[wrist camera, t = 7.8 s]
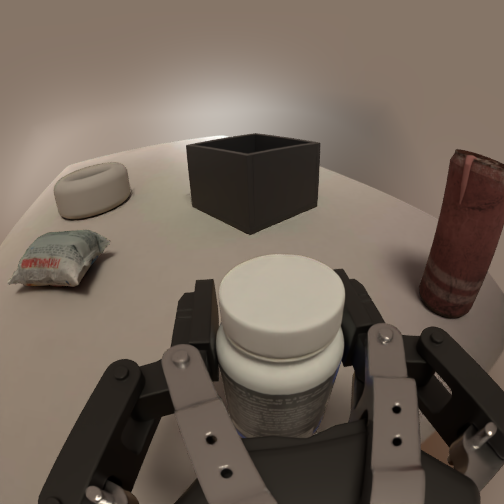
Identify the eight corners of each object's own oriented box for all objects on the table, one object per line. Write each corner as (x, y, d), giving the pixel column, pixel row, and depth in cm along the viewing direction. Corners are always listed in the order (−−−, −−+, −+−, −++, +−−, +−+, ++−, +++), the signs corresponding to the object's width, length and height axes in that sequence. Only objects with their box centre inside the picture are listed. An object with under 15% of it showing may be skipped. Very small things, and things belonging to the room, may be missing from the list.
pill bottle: (336, 434, 12) (388, 314, 7) (243, 463, 11) (223, 362, 6) (301, 367, 16) (316, 238, 11) (221, 388, 15) (197, 259, 10)
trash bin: (256, 186, 52) (255, 133, 47) (317, 206, 43) (320, 142, 38) (192, 206, 44) (185, 145, 39) (249, 235, 35) (246, 155, 30)
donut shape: (46, 219, 44) (38, 187, 41) (96, 190, 57) (90, 162, 53) (94, 224, 41) (84, 184, 37) (146, 191, 53) (141, 158, 49)
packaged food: (86, 302, 25) (69, 259, 22) (13, 297, 25) (-3, 261, 22) (116, 256, 32) (106, 219, 30) (47, 258, 32) (36, 226, 30)
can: (404, 296, 24) (439, 146, 17) (435, 274, 27) (465, 147, 19) (453, 331, 20) (509, 172, 12) (477, 302, 22) (520, 169, 15)
